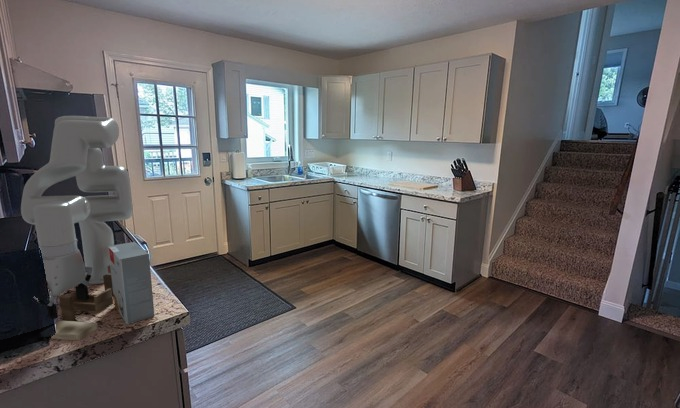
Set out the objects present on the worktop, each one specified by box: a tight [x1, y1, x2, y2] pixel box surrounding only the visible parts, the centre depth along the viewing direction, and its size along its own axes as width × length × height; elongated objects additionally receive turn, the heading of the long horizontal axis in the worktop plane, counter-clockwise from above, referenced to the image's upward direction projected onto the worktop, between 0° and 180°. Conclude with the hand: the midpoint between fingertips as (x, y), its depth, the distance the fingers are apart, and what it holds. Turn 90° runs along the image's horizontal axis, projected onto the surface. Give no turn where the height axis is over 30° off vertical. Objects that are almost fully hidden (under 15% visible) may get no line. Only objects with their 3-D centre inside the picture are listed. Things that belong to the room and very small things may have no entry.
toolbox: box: [58, 274, 114, 321], centre depth 104 cm, size 17×10×7 cm, turn 175°
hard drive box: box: [108, 241, 155, 325], centre depth 101 cm, size 16×8×20 cm, turn 45°
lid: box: [50, 319, 98, 341], centre depth 91 cm, size 6×11×2 cm, turn 84°
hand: (68, 308), depth 91 cm, fingers open, 9 cm apart
